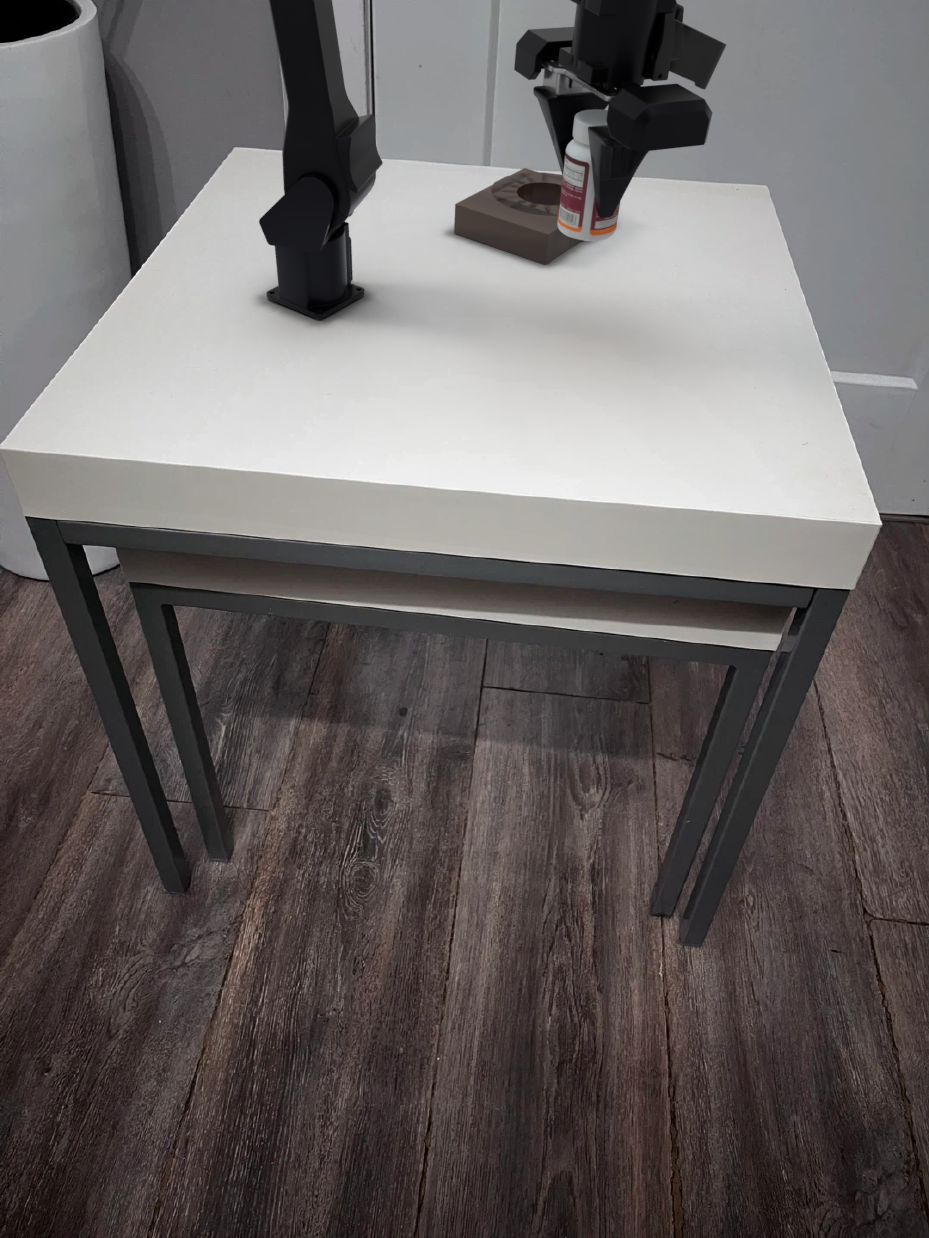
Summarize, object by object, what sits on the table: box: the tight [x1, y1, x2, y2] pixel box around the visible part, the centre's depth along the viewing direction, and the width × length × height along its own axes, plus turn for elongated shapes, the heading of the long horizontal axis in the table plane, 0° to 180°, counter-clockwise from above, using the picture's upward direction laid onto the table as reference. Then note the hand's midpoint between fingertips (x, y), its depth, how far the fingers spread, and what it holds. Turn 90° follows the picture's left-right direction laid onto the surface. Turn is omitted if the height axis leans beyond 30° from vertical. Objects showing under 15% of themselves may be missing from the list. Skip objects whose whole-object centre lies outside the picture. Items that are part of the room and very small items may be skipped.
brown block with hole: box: [453, 167, 586, 265], centre depth 100 cm, size 14×11×3 cm
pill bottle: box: [557, 109, 621, 242], centre depth 75 cm, size 5×5×8 cm
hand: (589, 204), depth 76 cm, fingers closed on pill bottle, 5 cm apart
